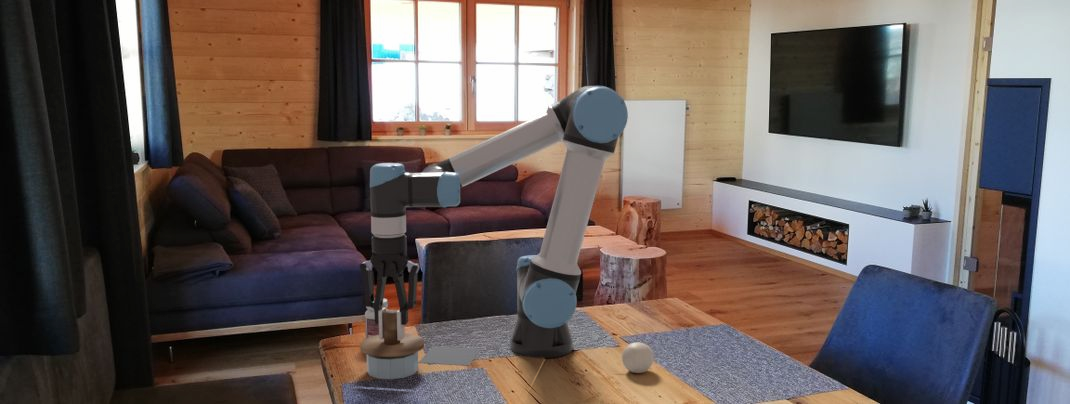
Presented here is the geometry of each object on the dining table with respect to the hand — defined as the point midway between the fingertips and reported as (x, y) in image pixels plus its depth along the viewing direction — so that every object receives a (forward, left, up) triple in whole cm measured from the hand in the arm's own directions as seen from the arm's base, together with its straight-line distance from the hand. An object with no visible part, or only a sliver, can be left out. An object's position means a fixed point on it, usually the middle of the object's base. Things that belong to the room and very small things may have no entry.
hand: (392, 337), depth 190 cm
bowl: (0, 0, -8) cm, 8 cm away
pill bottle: (+10, -18, -8) cm, 22 cm away
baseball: (-54, -10, -8) cm, 55 cm away
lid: (0, 0, -2) cm, 2 cm away
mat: (-10, -12, -8) cm, 18 cm away
